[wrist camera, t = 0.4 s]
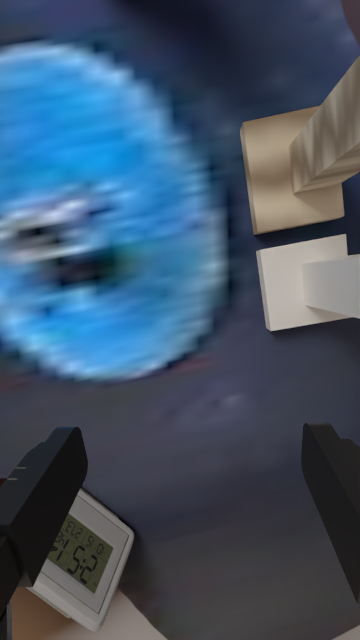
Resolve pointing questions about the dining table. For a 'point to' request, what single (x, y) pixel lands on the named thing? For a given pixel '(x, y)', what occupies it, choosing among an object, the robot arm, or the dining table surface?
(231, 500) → the dining table surface
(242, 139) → the marbled pedestal stand
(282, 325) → the white column stand
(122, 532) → the digital clock
